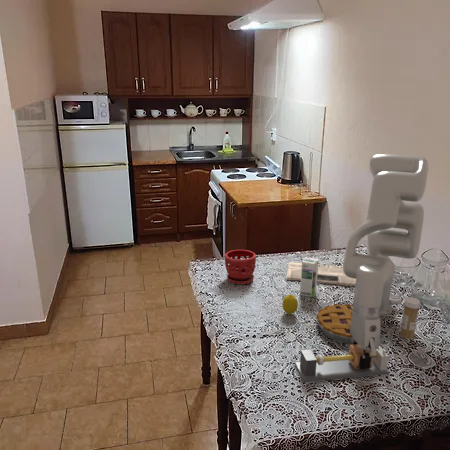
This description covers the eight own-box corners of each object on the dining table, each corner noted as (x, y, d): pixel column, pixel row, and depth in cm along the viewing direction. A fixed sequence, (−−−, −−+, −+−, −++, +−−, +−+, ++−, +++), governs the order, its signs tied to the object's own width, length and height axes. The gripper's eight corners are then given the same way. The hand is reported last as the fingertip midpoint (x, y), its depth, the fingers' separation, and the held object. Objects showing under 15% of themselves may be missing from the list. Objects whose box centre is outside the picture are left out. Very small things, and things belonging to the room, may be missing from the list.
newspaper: (286, 281, 184) (286, 275, 184) (289, 263, 202) (290, 258, 201) (375, 290, 177) (376, 284, 176) (371, 271, 195) (371, 265, 194)
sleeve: (363, 357, 130) (365, 343, 128) (371, 368, 125) (373, 353, 123) (348, 359, 129) (349, 344, 127) (355, 369, 124) (357, 354, 123)
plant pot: (260, 278, 186) (261, 252, 182) (245, 289, 176) (246, 262, 172) (234, 271, 193) (235, 246, 189) (218, 281, 182) (218, 255, 178)
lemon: (296, 319, 154) (298, 299, 151) (281, 317, 155) (282, 297, 152) (297, 311, 159) (298, 292, 156) (282, 309, 160) (283, 290, 157)
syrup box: (299, 295, 171) (301, 261, 167) (302, 289, 176) (304, 256, 172) (313, 297, 169) (316, 264, 164) (316, 291, 174) (319, 258, 170)
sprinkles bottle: (414, 340, 141) (420, 304, 137) (400, 338, 143) (405, 302, 138) (413, 333, 145) (419, 297, 141) (399, 331, 147) (404, 295, 142)
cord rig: (376, 357, 132) (379, 338, 130) (389, 374, 125) (392, 353, 123) (295, 364, 129) (296, 344, 126) (303, 382, 121) (305, 361, 119)
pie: (308, 313, 158) (309, 301, 156) (366, 312, 159) (367, 300, 158) (325, 348, 137) (326, 334, 136) (391, 346, 138) (393, 333, 137)
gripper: (394, 322, 114) (386, 379, 119) (365, 292, 130) (359, 344, 135) (367, 324, 113) (360, 382, 118) (341, 294, 129) (336, 346, 134)
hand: (359, 361), depth 127 cm, fingers closed on sleeve, 5 cm apart
